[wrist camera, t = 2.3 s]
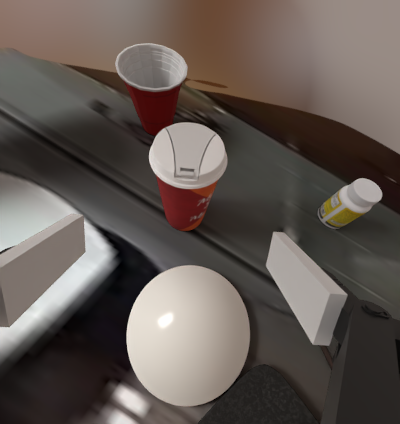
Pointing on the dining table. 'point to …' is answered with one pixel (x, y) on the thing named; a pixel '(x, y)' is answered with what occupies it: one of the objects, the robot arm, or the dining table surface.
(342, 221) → the supplement bottle
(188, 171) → the coffee cup
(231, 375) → the white round disc
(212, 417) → the sushi plate
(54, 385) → the dining table surface
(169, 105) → the plastic cup
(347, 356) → the robot arm
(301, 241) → the dining table surface
